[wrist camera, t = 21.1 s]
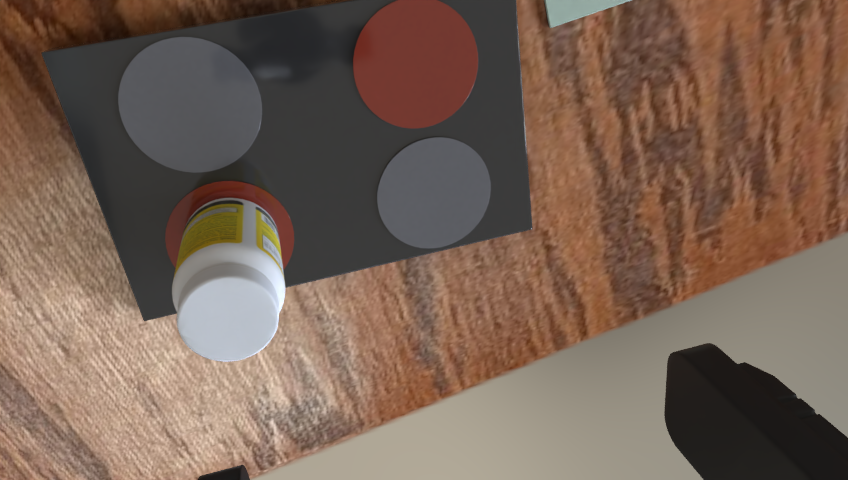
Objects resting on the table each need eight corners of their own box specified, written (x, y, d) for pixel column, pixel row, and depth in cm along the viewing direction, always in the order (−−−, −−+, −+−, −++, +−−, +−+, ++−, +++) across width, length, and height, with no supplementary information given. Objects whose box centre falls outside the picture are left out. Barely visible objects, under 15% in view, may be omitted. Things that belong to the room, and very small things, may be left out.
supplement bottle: (168, 260, 33) (145, 349, 26) (205, 180, 32) (192, 249, 25) (257, 291, 35) (259, 383, 28) (294, 217, 34) (307, 292, 26)
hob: (48, 48, 29) (39, 52, 28) (505, -28, 33) (515, -28, 32) (147, 310, 35) (143, 322, 34) (525, 221, 39) (533, 230, 38)
